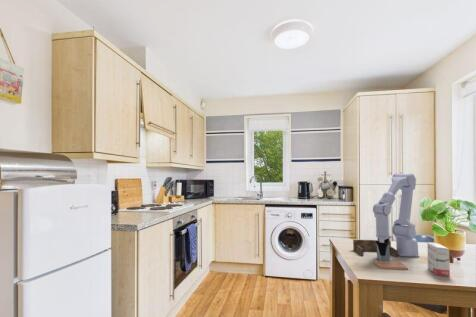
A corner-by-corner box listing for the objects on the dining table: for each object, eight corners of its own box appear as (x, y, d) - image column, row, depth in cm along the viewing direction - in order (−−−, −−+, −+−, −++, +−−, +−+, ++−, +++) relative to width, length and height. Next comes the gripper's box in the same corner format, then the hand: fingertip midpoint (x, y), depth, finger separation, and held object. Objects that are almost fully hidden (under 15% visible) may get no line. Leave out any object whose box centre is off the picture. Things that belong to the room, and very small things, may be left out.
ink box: (451, 276, 109) (449, 248, 110) (437, 275, 110) (436, 247, 111) (439, 269, 118) (438, 242, 119) (427, 268, 119) (426, 242, 120)
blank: (385, 258, 133) (384, 242, 134) (389, 261, 128) (389, 245, 129) (377, 257, 134) (376, 242, 134) (381, 261, 129) (380, 244, 129)
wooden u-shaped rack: (390, 251, 145) (389, 240, 145) (399, 257, 135) (398, 245, 135) (353, 250, 147) (353, 239, 148) (359, 255, 137) (359, 244, 138)
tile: (399, 263, 125) (399, 261, 125) (408, 269, 117) (408, 267, 117) (373, 262, 126) (373, 260, 127) (380, 268, 119) (380, 266, 119)
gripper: (390, 230, 124) (391, 259, 123) (391, 225, 136) (392, 251, 135) (374, 228, 128) (375, 256, 127) (376, 224, 140) (377, 249, 139)
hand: (383, 253), depth 131 cm, fingers closed on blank, 6 cm apart
